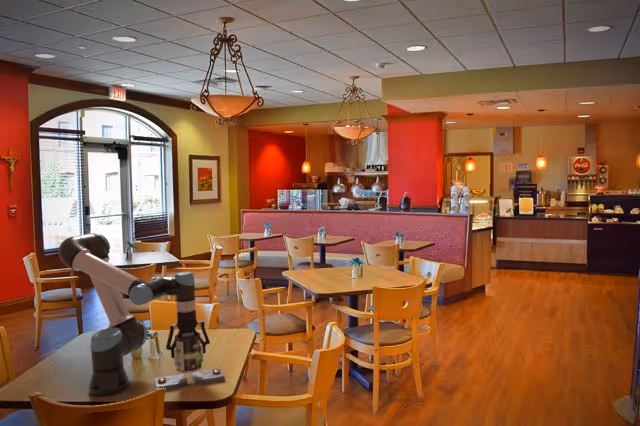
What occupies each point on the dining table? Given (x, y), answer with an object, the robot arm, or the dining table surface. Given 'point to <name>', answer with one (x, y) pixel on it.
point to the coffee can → (188, 353)
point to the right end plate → (208, 376)
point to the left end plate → (171, 382)
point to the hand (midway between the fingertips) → (189, 363)
